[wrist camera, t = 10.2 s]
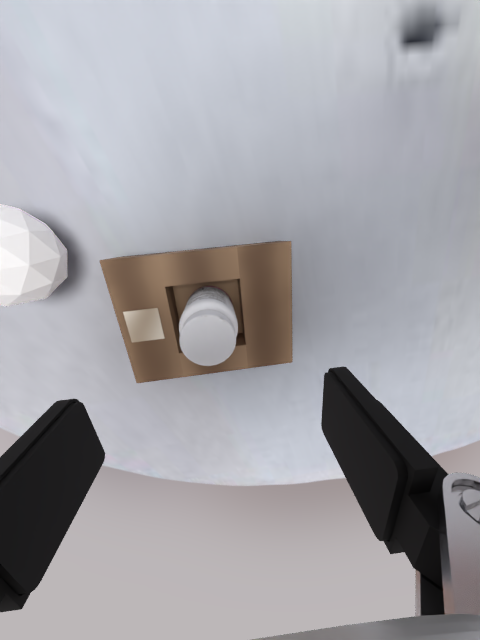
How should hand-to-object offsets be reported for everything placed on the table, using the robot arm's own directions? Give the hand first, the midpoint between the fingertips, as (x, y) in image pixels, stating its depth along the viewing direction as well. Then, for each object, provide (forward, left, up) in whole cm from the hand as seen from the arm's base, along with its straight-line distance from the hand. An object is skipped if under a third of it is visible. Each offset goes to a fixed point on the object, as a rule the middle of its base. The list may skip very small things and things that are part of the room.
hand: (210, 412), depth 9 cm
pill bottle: (0, 0, -16) cm, 16 cm away
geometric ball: (+16, -7, -17) cm, 24 cm away
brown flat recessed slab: (+1, 0, -17) cm, 17 cm away
